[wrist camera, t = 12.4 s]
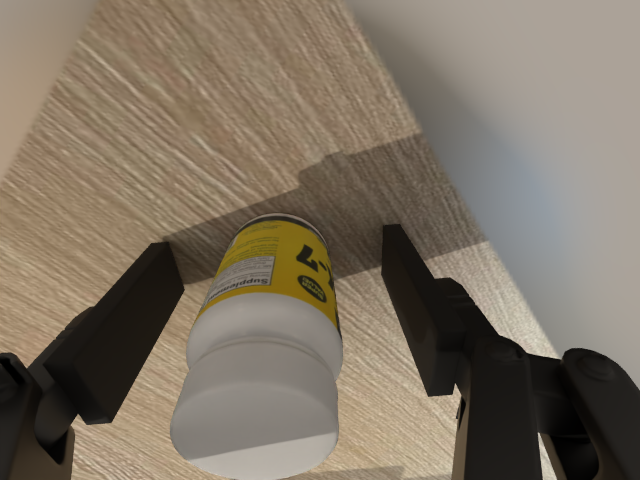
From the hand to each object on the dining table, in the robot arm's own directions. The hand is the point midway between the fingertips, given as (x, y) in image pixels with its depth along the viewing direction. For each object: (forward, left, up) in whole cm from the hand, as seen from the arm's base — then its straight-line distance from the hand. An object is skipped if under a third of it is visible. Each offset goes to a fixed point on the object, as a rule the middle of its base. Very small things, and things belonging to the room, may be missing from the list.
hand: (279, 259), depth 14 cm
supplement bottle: (0, 0, 0) cm, 0 cm away
